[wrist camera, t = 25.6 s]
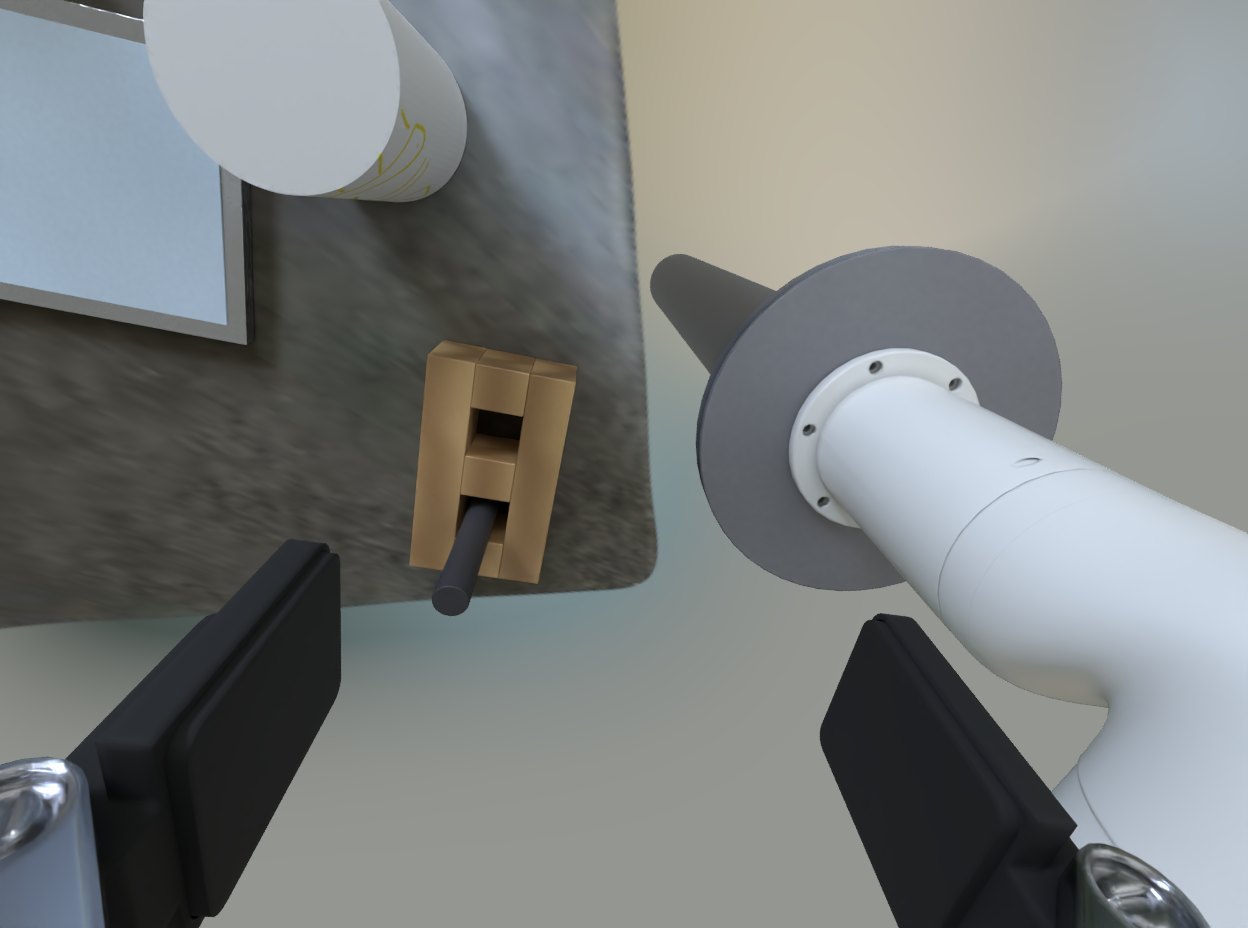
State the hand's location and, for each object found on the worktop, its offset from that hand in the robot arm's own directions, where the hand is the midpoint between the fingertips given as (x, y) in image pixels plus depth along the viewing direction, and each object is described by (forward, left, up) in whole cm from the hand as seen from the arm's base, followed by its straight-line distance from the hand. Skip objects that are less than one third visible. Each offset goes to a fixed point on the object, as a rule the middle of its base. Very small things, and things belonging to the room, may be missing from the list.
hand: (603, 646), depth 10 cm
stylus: (+5, +12, -28) cm, 30 cm away
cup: (+13, -9, -28) cm, 32 cm away
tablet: (+30, -3, -28) cm, 41 cm away
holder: (+5, +9, -28) cm, 29 cm away
